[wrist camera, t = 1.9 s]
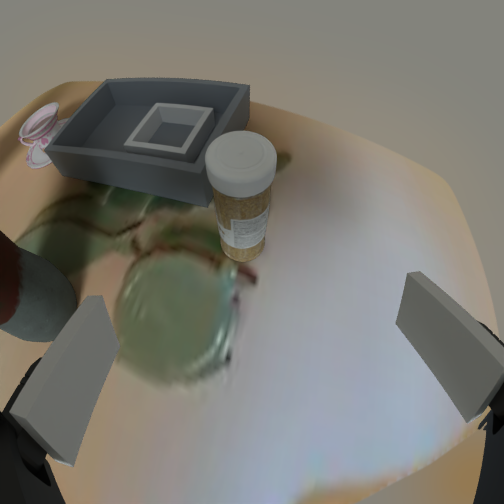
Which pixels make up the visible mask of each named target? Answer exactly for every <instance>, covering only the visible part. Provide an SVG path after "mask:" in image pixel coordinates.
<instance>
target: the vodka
mask: <svg viewBox="0 0 504 504" xmlns="http://www.w3.org/2000/svg"><path fill="white" fill-rule="evenodd" d="M76 307H77V301H76V296H75V292H74V290H73V287H72V285H71V284H70V282H69V281H68V279H67V278H66V277H65V276H64V275H63V274H62V273H61V272H60V271H59V270H58V269H57V268H56V267H55V266H54V265H53V264H52V263H51V262H50V261H48V260H46V259H44V258H42V257H40V256H38V255H35V254H33V253H31V252H29V251H27V250H24V249H22V248H20V247H18V246H17V245H16V244H15V243H13V242H12V241H11V240H10V239H9V238H8V237H7V236H6V235H5V234H4V233H3V232H1V231H0V329H2V330H4V331H5V332H7V333H9V334H11V335H13V336H16V337H18V338H20V339H22V340H26V341H32V342H50V341H54V340H55V339H56V337H57V336H58V334H59V333H60V332H61V330H62V329H63V328H64V326H65V325H66V323H67V322H68V321H69V319H70V318H71V317H72V315H73V314H74V313H75V312H76Z"/></svg>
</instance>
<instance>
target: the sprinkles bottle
mask: <svg viewBox="0 0 504 504" xmlns="http://www.w3.org/2000/svg"><path fill="white" fill-rule="evenodd" d="M276 163H277V154H276V150H275V148H274V146H273V145H272V143H271V142H270V141H269V140H268V139H267V138H265V137H264V136H262V135H260V134H258V133H254V132H251V131H233V132H229V133H226V134H223V135H221V136H219V137H218V138H216V139H215V140H214V141H213V142H212V143H211V144H210V145H209V147H208V149H207V151H206V154H205V164H206V170H207V176H208V179H209V182H210V183H211V185H212V189H213V195H214V201H215V211H216V217H217V223H218V228H219V233H220V236H221V247H222V249H223V251H224V253H225V254H226V255H227V256H228V257H229V258H231V259H233V260H235V261H240V262H246V261H250V260H253V259H255V258H256V257H257V256H259V255H260V253H261V252H262V250H263V248H264V244H265V239H264V235H265V232H266V225H267V219H268V212H269V204H270V190H271V183H272V181H273V179H274V177H275V171H276Z"/></svg>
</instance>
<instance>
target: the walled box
mask: <svg viewBox="0 0 504 504" xmlns="http://www.w3.org/2000/svg"><path fill="white" fill-rule="evenodd" d="M249 96H250V85H245V84H237V83H229V82H221V81H211V80H199V79H183V78H122V79H107V80H105V81H104V82H103V83H102V84H101V85H100V86H99V87H98V88H97V89H96V90H95V91H94V92H93V93H92V94H91V95H90V96H89V97H88V98H87V99H86V100H85V101H84V103H83V104H82V105H81V106H80V107H79V108H78V109H77V110H76V111H75V112H74V114H73V115H72V116H71V117H70V118H69V119H68V120H67V122H66V123H65V124H64V125H63V126H62V128H61V129H60V130H59V131H58V133H57V134H56V135H55V136H54V138H53V139H52V140H51V141H50V143H49V144H48V145H47V147H46V148H45V149H44V151H45V153H46V154H47V155H48V157H49V158H50V160H51V161H52V162H53V164H54V165H55V166H56V168H57V169H58V170H59V172H60V173H61V174H62V176H66V177H71V178H76V179H82V180H87V181H91V182H96V183H101V184H106V185H111V186H115V187H120V188H125V189H129V190H134V191H138V192H143V193H147V194H152V195H156V196H161V197H165V198H169V199H174V200H178V201H182V202H186V203H190V204H195V205H199V206H203V207H207V208H208V206H209V204H210V202H211V199H212V197H213V189H212V185H211V183H210V182H209V179H208V176H207V170H206V164H205V154H206V151H207V149H208V147H209V145H210V144H211V143H212V142H213V141H214V140H215V139H216V138H218V137H219V136H221V135H223V134H226V133H229V132H233V131H243V130H244V128H245V126H246V124H247V122H248V120H249V103H250V97H249Z"/></svg>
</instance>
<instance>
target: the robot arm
mask: <svg viewBox="0 0 504 504" xmlns="http://www.w3.org/2000/svg"><path fill="white" fill-rule="evenodd" d="M396 325H397V326H398V327H399V329H400V330H401V331H402V333H403V334H404V335H405V336H406V338H407V339H408V340H409V342H410V343H411V344H412V346H413V347H414V348H415V350H416V351H417V352H418V354H419V355H420V356H421V358H422V359H423V360H424V362H425V363H426V364H427V366H428V367H429V368H430V370H431V371H432V373H433V374H434V375H435V377H436V378H437V380H438V381H439V383H440V384H441V385H442V387H443V388H444V390H445V391H446V393H447V394H448V395H449V397H450V398H451V400H452V401H453V403H454V404H455V406H456V407H457V409H458V410H459V412H460V413H461V415H462V417H463V418H464V420H465V421H466V423H467V424H468V423H470V422H471V421H473V420H475V419H476V418H478V417H479V416H481V414H482V413H483V412H484V411H485V409H486V408H487V406H488V405H489V407H490V408H491V410H490V412H489V413H488V414H487V416H486V417H485V418H484V419H483V421H482V422H481V423H480V424H479V427H478V429H481V428H482V427H483V425H484V424H485V423H486V422H487V425H486V426H485V427H484V429H483V430H486V440H485V448H484V455H483V461H482V467H481V473H480V478H479V482H478V487H477V491H476V495H475V499H474V502H473V504H504V343H503V342H502V341H501V340H499V338H498V337H497V336H496V335H495V334H493V332H492V331H491V330H490V329H489V328H488V327H487V326H485V325H484V324H482V323H480V322H479V321H477V320H475V319H474V318H473V317H472V316H471V315H470V314H469V313H468V312H467V311H466V310H465V309H463V308H462V307H461V306H460V305H459V304H458V303H457V302H456V301H454V300H453V299H452V298H451V297H450V296H449V295H448V294H446V293H445V292H444V291H443V290H442V289H441V288H439V287H438V286H437V285H436V284H435V283H434V282H432V281H431V280H430V279H429V278H427V277H426V276H425V275H424V274H423V273H421V272H420V271H419V272H411V273H407V277H406V282H405V287H404V291H403V296H402V300H401V304H400V308H399V312H398V316H397V320H396ZM119 348H120V345H119V342H118V339H117V337H116V334H115V332H114V329H113V326H112V323H111V320H110V317H109V315H108V312H107V309H106V306H105V302H104V299H103V296H87V297H86V299H85V300H84V301H83V303H82V304H81V305H80V306H79V308H78V309H77V310H76V312H75V313H74V314H73V315H72V317H71V318H70V319H69V321H68V322H67V323H66V325H65V326H64V328H63V329H62V330H61V332H60V333H59V334H58V336H57V337H56V339H55V340H54V341H53V343H52V344H51V346H50V347H49V349H48V350H47V351H46V353H45V354H44V356H43V357H42V358H41V357H40V358H39V359H38V360H37V361H35V362H34V363H33V364H32V365H31V366H30V368H29V369H28V371H27V372H26V374H25V377H23V378H22V380H21V382H20V385H18V386H17V388H16V390H15V391H14V393H13V395H12V396H11V398H10V400H9V401H8V403H7V405H6V407H5V408H4V410H3V412H2V413H1V411H0V504H66V503H65V501H64V499H63V497H62V495H61V492H60V490H59V488H58V485H57V483H56V480H55V478H54V475H53V473H52V470H51V467H50V465H49V463H48V461H47V460H46V459H45V457H46V454H47V453H48V454H49V455H50V456H51V457H52V458H53V459H54V460H55V461H56V462H59V463H62V464H65V465H68V466H71V467H74V464H75V461H76V457H77V454H78V451H79V448H80V445H81V442H82V440H83V437H84V434H85V431H86V428H87V425H88V423H89V420H90V417H91V415H92V412H93V410H94V407H95V404H96V402H97V399H98V397H99V394H100V392H101V389H102V387H103V385H104V382H105V380H106V377H107V375H108V373H109V370H110V368H111V366H112V363H113V361H114V359H115V357H116V354H117V352H118V350H119Z"/></svg>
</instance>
